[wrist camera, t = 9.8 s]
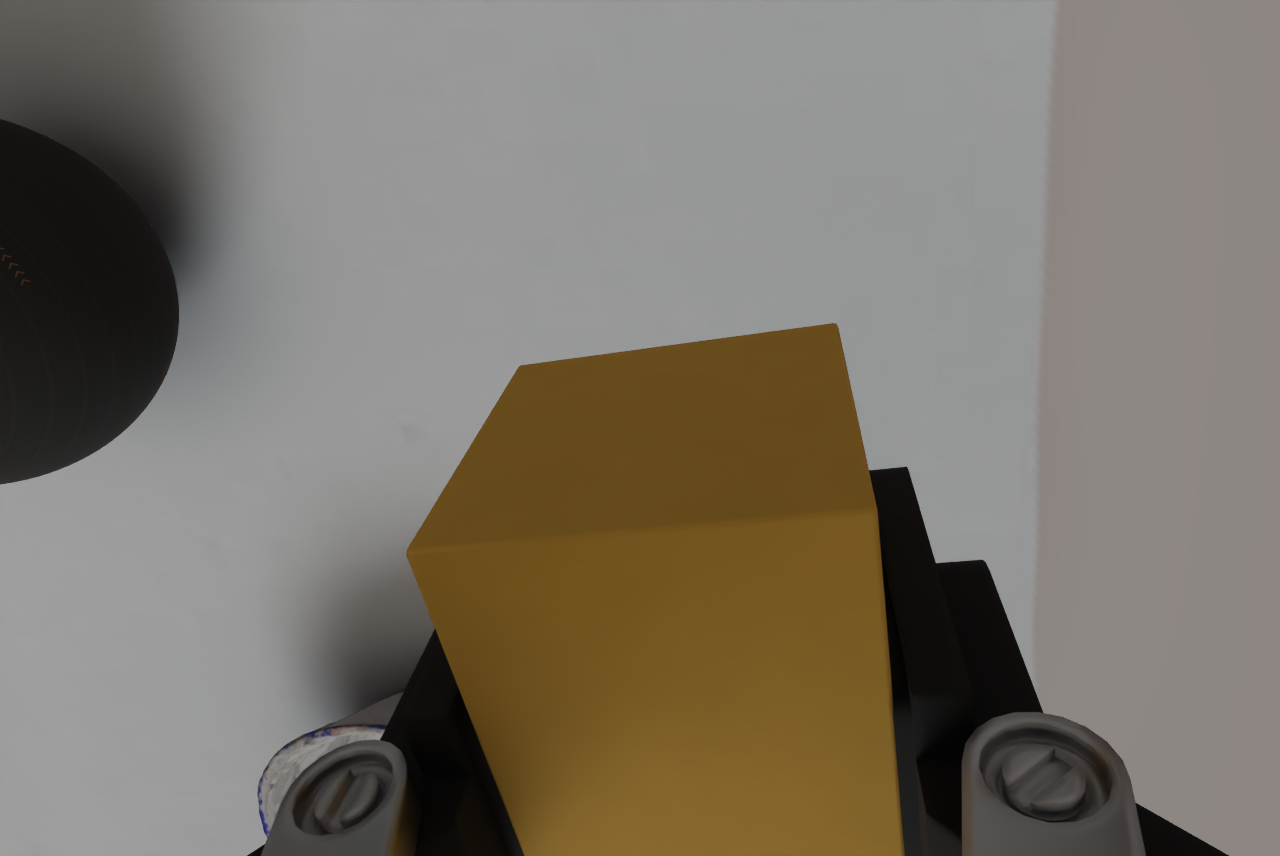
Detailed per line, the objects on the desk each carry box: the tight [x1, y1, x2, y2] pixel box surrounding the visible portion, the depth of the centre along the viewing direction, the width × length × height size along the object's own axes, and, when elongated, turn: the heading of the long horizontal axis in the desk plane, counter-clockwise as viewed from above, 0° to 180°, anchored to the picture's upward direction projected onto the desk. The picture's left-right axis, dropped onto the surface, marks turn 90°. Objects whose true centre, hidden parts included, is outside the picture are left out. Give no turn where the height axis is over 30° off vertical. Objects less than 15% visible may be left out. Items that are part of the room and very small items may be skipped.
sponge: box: [407, 323, 905, 856], centre depth 10 cm, size 7×4×4 cm, turn 11°
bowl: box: [258, 692, 403, 838], centre depth 35 cm, size 13×13×5 cm
